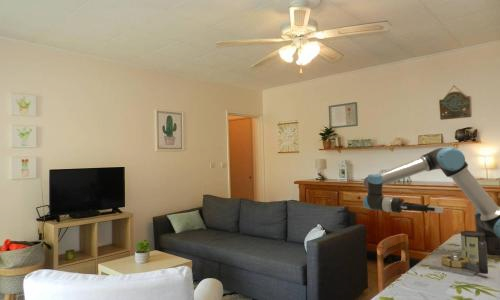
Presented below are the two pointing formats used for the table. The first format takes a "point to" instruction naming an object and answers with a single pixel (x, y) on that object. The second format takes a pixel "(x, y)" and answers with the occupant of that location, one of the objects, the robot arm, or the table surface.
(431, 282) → the table surface
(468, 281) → the table surface
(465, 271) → the flange plate
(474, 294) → the table surface
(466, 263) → the tan ring with handle
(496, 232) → the robot arm
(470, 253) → the coffee can
